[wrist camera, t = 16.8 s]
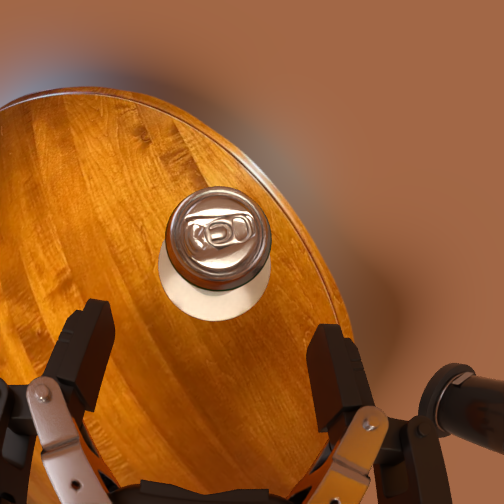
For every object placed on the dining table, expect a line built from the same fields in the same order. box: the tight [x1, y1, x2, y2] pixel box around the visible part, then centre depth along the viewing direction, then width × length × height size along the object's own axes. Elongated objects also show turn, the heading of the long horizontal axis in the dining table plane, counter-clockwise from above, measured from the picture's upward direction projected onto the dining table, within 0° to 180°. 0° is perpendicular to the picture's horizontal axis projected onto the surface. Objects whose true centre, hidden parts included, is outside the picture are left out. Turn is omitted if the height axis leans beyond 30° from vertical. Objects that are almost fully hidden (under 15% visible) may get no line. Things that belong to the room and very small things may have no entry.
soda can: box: [165, 186, 272, 296], centre depth 19 cm, size 5×5×12 cm
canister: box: [158, 240, 271, 321], centre depth 28 cm, size 9×9×7 cm
